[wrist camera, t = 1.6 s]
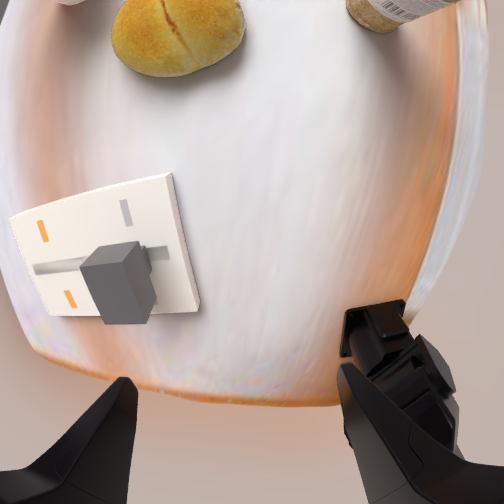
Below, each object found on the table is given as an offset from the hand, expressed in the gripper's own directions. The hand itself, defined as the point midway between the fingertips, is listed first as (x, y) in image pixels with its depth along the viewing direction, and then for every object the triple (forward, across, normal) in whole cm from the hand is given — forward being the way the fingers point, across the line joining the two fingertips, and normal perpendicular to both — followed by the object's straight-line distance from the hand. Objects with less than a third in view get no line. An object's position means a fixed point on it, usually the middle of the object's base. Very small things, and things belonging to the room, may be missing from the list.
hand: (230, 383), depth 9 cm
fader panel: (+13, +12, 0) cm, 18 cm away
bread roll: (+14, +2, -16) cm, 21 cm away
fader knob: (+11, +8, 0) cm, 13 cm away
